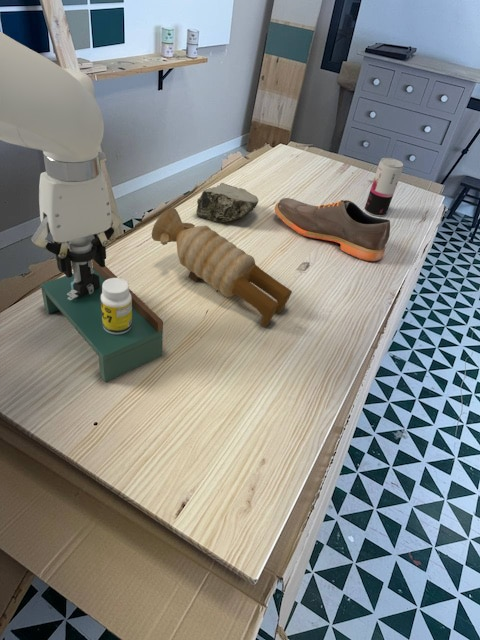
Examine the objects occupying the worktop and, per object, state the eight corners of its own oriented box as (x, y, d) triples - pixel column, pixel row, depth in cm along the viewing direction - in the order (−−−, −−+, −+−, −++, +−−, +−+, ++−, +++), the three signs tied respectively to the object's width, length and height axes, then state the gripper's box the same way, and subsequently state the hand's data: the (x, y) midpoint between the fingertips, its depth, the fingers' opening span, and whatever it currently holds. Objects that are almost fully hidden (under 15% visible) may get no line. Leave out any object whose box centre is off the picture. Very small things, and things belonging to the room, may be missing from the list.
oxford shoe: (283, 208, 131) (291, 169, 124) (388, 249, 121) (404, 209, 114) (265, 222, 124) (272, 182, 116) (375, 267, 114) (391, 226, 106)
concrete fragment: (209, 187, 130) (256, 168, 123) (221, 223, 132) (268, 207, 125) (183, 193, 117) (234, 172, 110) (197, 233, 120) (248, 215, 112)
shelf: (105, 382, 75) (102, 346, 70) (45, 309, 87) (38, 274, 81) (162, 355, 81) (163, 321, 76) (99, 290, 93) (96, 257, 88)
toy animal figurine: (279, 319, 99) (173, 243, 106) (301, 277, 91) (184, 198, 97) (255, 343, 92) (143, 260, 99) (276, 301, 84) (152, 213, 91)
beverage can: (362, 212, 136) (378, 162, 127) (366, 204, 141) (382, 155, 131) (384, 219, 135) (402, 169, 125) (387, 210, 140) (405, 161, 130)
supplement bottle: (97, 321, 77) (94, 280, 72) (124, 313, 80) (122, 272, 74) (110, 339, 74) (108, 297, 69) (137, 329, 77) (136, 288, 71)
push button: (80, 307, 79) (73, 257, 73) (57, 296, 81) (48, 246, 74) (107, 289, 84) (103, 240, 77) (85, 278, 85) (79, 230, 79)
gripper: (112, 147, 75) (116, 245, 86) (1, 164, 65) (23, 272, 77) (137, 165, 71) (138, 264, 82) (24, 186, 61) (43, 295, 73)
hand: (82, 267), depth 79 cm, fingers closed on push button, 5 cm apart
